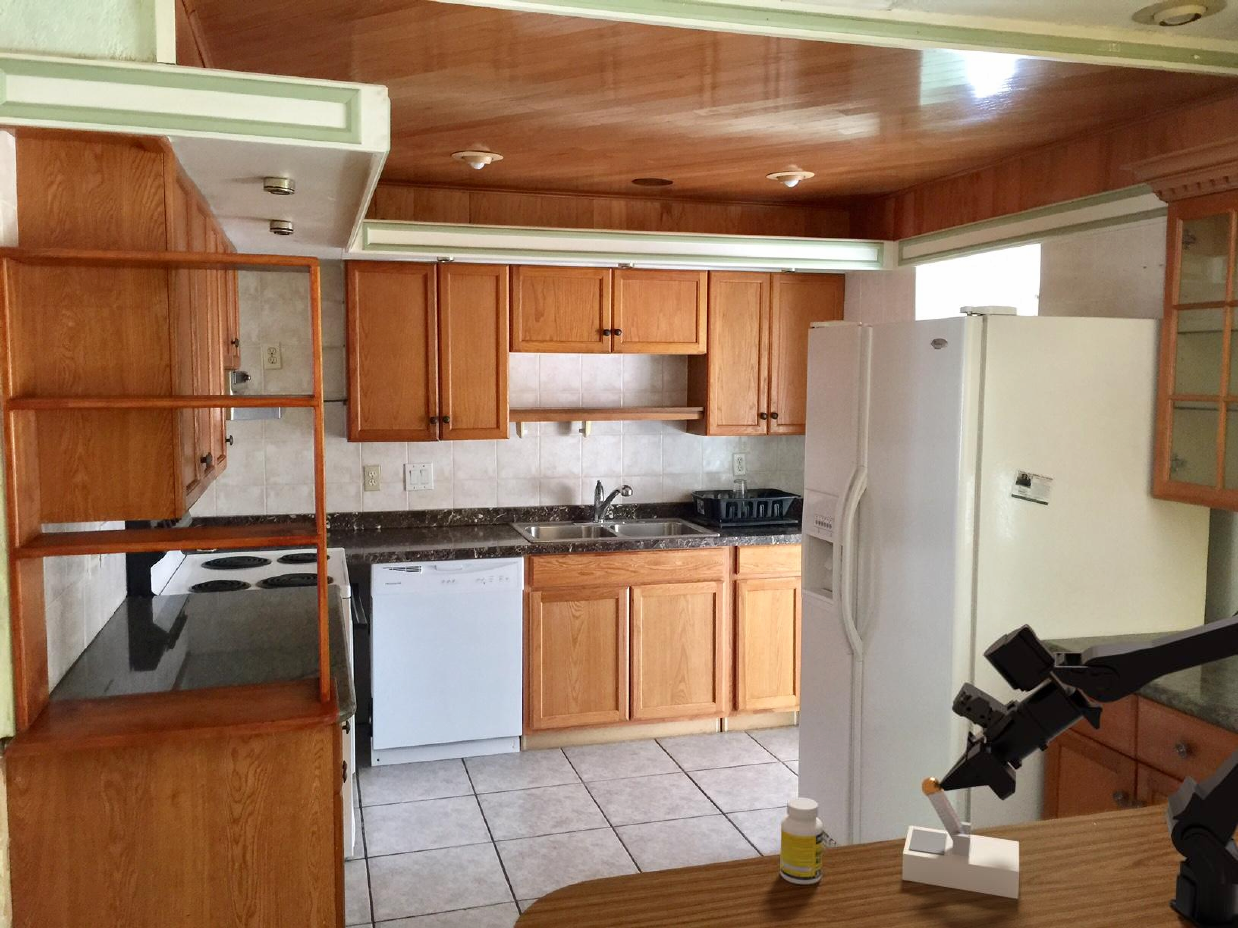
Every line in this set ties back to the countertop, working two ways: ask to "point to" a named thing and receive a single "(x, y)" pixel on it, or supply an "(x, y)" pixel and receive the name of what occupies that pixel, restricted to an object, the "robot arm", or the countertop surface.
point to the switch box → (962, 861)
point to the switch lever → (942, 806)
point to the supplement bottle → (801, 842)
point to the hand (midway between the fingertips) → (942, 786)
